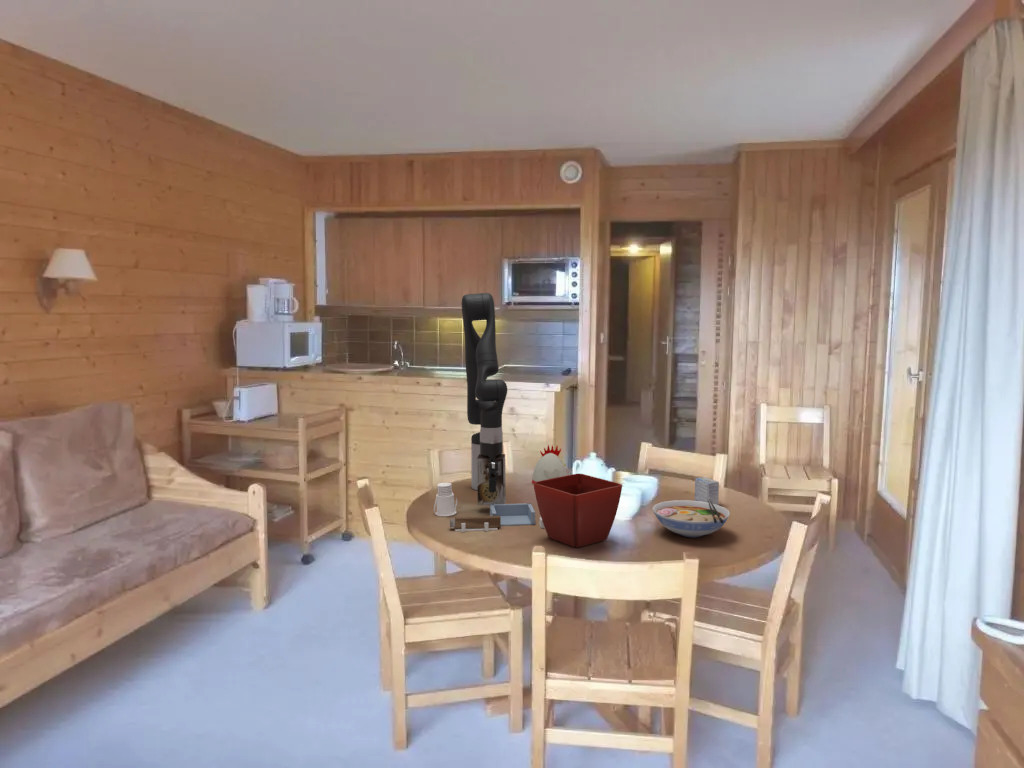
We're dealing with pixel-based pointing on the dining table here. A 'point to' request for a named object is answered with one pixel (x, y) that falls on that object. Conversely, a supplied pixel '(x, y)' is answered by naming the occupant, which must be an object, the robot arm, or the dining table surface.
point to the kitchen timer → (549, 466)
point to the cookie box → (483, 483)
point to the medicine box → (706, 490)
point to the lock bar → (476, 522)
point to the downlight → (445, 500)
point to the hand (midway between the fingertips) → (491, 488)
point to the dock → (514, 513)
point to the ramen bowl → (691, 517)
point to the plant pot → (577, 508)
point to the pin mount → (488, 528)
